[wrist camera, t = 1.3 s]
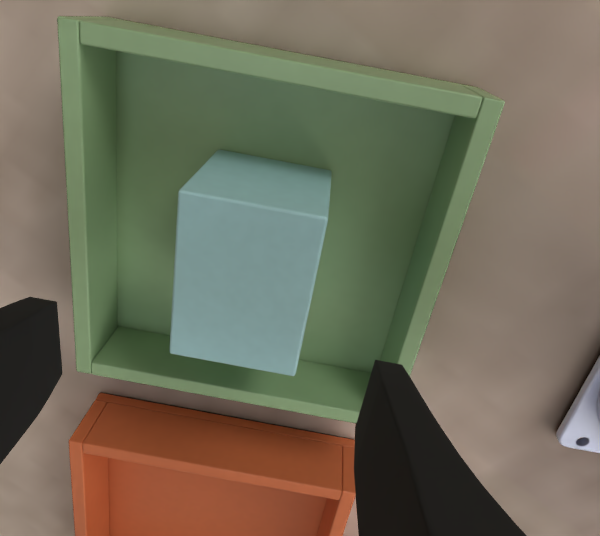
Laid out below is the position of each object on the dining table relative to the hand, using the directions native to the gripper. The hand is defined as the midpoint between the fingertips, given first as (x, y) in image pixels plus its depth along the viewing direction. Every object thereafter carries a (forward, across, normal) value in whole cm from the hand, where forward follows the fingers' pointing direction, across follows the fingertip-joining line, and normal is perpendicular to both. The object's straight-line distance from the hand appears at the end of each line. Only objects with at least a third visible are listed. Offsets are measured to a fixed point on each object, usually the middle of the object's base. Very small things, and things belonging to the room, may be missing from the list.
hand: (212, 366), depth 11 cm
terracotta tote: (+8, +1, +16) cm, 18 cm away
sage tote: (+8, 0, 0) cm, 8 cm away
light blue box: (+8, 0, 0) cm, 8 cm away
